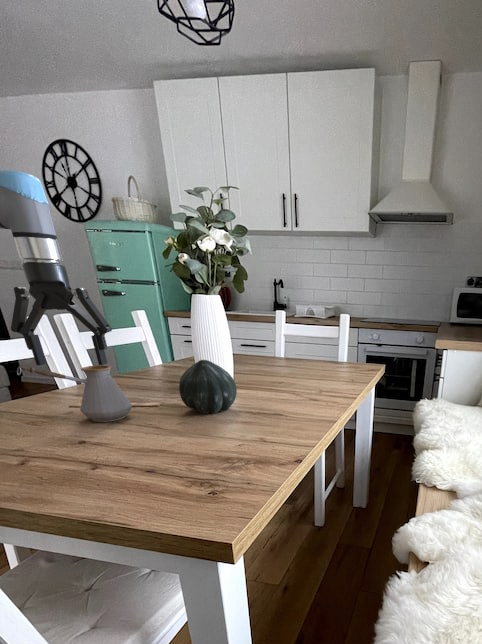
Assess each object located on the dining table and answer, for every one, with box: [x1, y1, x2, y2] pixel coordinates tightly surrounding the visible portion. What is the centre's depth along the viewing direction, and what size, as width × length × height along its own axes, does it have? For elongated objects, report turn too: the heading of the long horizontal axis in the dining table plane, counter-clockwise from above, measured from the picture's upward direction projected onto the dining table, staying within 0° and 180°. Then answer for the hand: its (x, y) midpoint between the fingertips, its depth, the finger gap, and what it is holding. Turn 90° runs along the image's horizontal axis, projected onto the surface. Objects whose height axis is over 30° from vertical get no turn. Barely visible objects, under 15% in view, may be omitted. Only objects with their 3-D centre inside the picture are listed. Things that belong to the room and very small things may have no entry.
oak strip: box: [68, 402, 162, 408], centre depth 114 cm, size 24×3×1 cm, turn 97°
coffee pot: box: [16, 365, 133, 423], centre depth 96 cm, size 21×12×15 cm, turn 142°
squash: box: [178, 359, 238, 415], centre depth 109 cm, size 14×15×15 cm
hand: (73, 364), depth 93 cm, fingers open, 13 cm apart
